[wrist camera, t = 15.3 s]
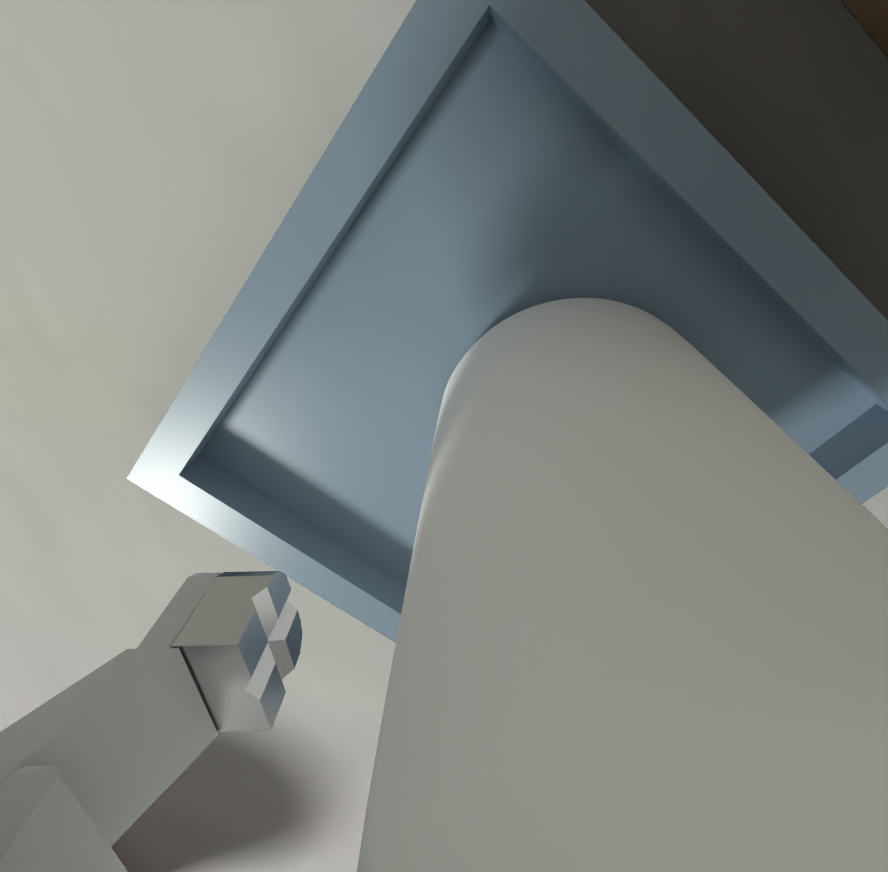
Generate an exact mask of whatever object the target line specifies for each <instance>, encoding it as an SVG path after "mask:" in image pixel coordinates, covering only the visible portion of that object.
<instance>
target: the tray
mask: <svg viewBox="0 0 888 872" xmlns="http://www.w3.org/2000/svg"><path fill="white" fill-rule="evenodd" d="M569 298H599V299H607V300H613V301H617V302H621V303H625V304H628V305H631V306H634V307H636V308H639V309H641V310H643V311H646V312H648V313H649V314H651V315H653V316H655V317H656V318H658V319H660V320H661V321H663V322H664V323H666V324H667V325H668V326H670V327H671V328H672V329H674V330H675V331H676V332H677V333H678V334H679V335H681V336H682V337H683V338H684V339H685V340H686V341H687V342H689V343H690V344H691V345H692V346H693V347H694V348H695V349H696V350H697V351H699V352H700V353H701V354H702V355H703V356H704V357H705V358H706V359H707V360H708V361H709V362H710V363H712V364H713V365H714V366H715V367H716V368H717V369H718V370H719V371H720V372H721V373H722V374H723V375H724V376H726V377H727V378H728V379H729V380H730V381H731V382H732V383H733V384H734V385H735V386H736V387H737V388H738V389H740V390H741V391H742V392H743V393H744V394H745V395H746V396H747V397H748V398H749V399H750V400H751V401H752V402H753V403H754V404H756V405H757V406H758V407H759V408H760V409H761V410H762V411H763V412H764V413H765V414H766V415H767V416H768V417H769V418H770V419H772V420H773V421H774V422H775V423H776V424H777V425H778V426H779V427H780V428H781V429H782V430H783V431H784V432H785V433H786V434H788V435H789V436H790V437H791V438H792V439H793V440H794V441H795V442H796V443H797V444H798V445H799V446H800V447H801V448H802V449H803V450H805V451H806V452H807V453H808V454H809V455H810V456H811V457H812V458H813V459H814V460H815V461H816V462H817V463H818V464H819V465H820V466H821V467H823V468H824V469H825V470H826V471H827V472H828V473H829V474H830V475H831V476H832V477H833V478H834V479H835V480H836V481H837V482H838V483H840V484H841V485H842V486H843V487H844V488H845V489H846V490H847V491H848V492H849V493H850V494H851V495H852V496H853V497H854V498H855V499H857V500H858V501H859V502H860V503H861V504H862V503H864V502H865V501H867V500H868V499H870V498H871V497H873V496H874V495H876V494H877V493H878V492H880V491H881V490H883V489H884V488H886V487H887V486H888V320H887V319H886V318H885V317H884V316H883V315H882V314H881V313H880V312H879V311H878V310H877V309H876V308H875V307H874V306H873V305H872V303H871V302H870V301H869V300H868V299H867V298H866V297H865V296H864V295H863V294H862V293H861V292H860V291H859V290H858V289H857V288H856V287H855V286H854V284H853V283H852V282H851V281H850V280H849V279H848V278H847V277H846V276H845V275H844V274H843V273H842V272H841V271H840V270H839V269H838V268H837V266H836V265H835V264H834V263H833V262H832V261H831V260H830V259H829V258H828V257H827V256H826V255H825V254H824V253H823V252H822V251H821V250H820V249H819V247H818V246H817V245H816V244H815V243H814V242H813V241H812V240H811V239H810V238H809V237H808V236H807V235H806V234H805V233H804V232H803V231H802V230H801V228H800V227H799V226H798V225H797V224H796V223H795V222H794V221H793V220H792V219H791V218H790V217H789V216H788V215H787V214H786V213H785V212H784V211H783V209H782V208H781V207H780V206H779V205H778V204H777V203H776V202H775V201H774V200H773V199H772V198H771V197H770V196H769V195H768V194H767V193H766V191H765V190H764V189H763V188H762V187H761V186H760V185H759V184H758V183H757V182H756V181H755V180H754V179H753V178H752V177H751V176H750V175H749V174H748V172H747V171H746V170H745V169H744V168H743V167H742V166H741V165H740V164H739V163H738V162H737V161H736V160H735V159H734V158H733V157H732V156H731V155H730V153H729V152H728V151H727V150H726V149H725V148H724V147H723V146H722V145H721V144H720V143H719V142H718V141H717V140H716V139H715V138H714V137H713V135H712V134H711V133H710V132H709V131H708V130H707V129H706V128H705V127H704V126H703V125H702V124H701V123H700V122H699V121H698V120H697V119H696V118H695V116H694V115H693V114H692V113H691V112H690V111H689V110H688V109H687V108H686V107H685V106H684V105H683V104H682V103H681V102H680V101H679V100H678V99H677V97H676V96H675V95H674V94H673V93H672V92H671V91H670V90H669V89H668V88H667V87H666V86H665V85H664V84H663V83H662V82H661V81H660V80H659V78H658V77H657V76H656V75H655V74H654V73H653V72H652V71H651V70H650V69H649V68H648V67H647V66H646V65H645V64H644V63H643V62H642V60H641V59H640V58H639V57H638V56H637V55H636V54H635V53H634V52H633V51H632V50H631V49H630V48H629V47H628V46H627V45H626V44H625V43H624V41H623V40H622V39H621V38H620V37H619V36H618V35H617V34H616V33H615V32H614V31H613V30H612V29H611V28H610V27H609V26H608V25H607V24H606V22H605V21H604V20H603V19H602V18H601V17H600V16H599V15H598V14H597V13H596V12H595V11H594V10H593V9H592V8H591V7H590V6H589V4H588V3H587V2H586V1H585V0H416V2H415V4H414V5H413V7H412V8H411V10H410V12H409V13H408V15H407V17H406V18H405V20H404V22H403V23H402V25H401V27H400V28H399V30H398V32H397V33H396V35H395V37H394V38H393V40H392V42H391V43H390V45H389V46H388V48H387V50H386V51H385V53H384V55H383V56H382V58H381V60H380V61H379V63H378V65H377V66H376V68H375V70H374V71H373V73H372V75H371V76H370V78H369V79H368V81H367V83H366V84H365V86H364V88H363V89H362V91H361V93H360V94H359V96H358V98H357V99H356V101H355V103H354V104H353V106H352V108H351V109H350V111H349V113H348V114H347V116H346V117H345V119H344V121H343V122H342V124H341V126H340V127H339V129H338V131H337V132H336V134H335V136H334V137H333V139H332V141H331V142H330V144H329V146H328V147H327V149H326V150H325V152H324V154H323V155H322V157H321V159H320V160H319V162H318V164H317V165H316V167H315V169H314V170H313V172H312V174H311V175H310V177H309V179H308V180H307V182H306V183H305V185H304V187H303V188H302V190H301V192H300V193H299V195H298V197H297V198H296V200H295V202H294V203H293V205H292V207H291V208H290V210H289V212H288V213H287V215H286V217H285V218H284V220H283V221H282V223H281V225H280V226H279V228H278V230H277V231H276V233H275V235H274V236H273V238H272V240H271V241H270V243H269V245H268V246H267V248H266V250H265V251H264V253H263V254H262V256H261V258H260V259H259V261H258V263H257V264H256V266H255V268H254V269H253V271H252V273H251V274H250V276H249V278H248V279H247V281H246V283H245V284H244V286H243V288H242V289H241V291H240V292H239V294H238V296H237V297H236V299H235V301H234V302H233V304H232V306H231V307H230V309H229V311H228V312H227V314H226V316H225V317H224V319H223V321H222V322H221V324H220V325H219V327H218V329H217V330H216V332H215V334H214V335H213V337H212V339H211V340H210V342H209V344H208V345H207V347H206V349H205V350H204V352H203V354H202V355H201V357H200V358H199V360H198V362H197V363H196V365H195V367H194V368H193V370H192V372H191V373H190V375H189V377H188V378H187V380H186V382H185V383H184V385H183V387H182V388H181V390H180V392H179V393H178V395H177V396H176V398H175V400H174V401H173V403H172V405H171V406H170V408H169V410H168V411H167V413H166V415H165V416H164V418H163V420H162V421H161V423H160V425H159V426H158V428H157V429H156V431H155V433H154V434H153V436H152V438H151V439H150V441H149V443H148V444H147V446H146V448H145V449H144V451H143V453H142V454H141V456H140V458H139V459H138V461H137V463H136V464H135V466H134V467H133V469H132V471H131V472H130V474H129V476H128V477H127V479H128V480H130V481H131V482H133V483H135V484H136V485H138V486H140V487H141V488H143V489H145V490H146V491H148V492H149V493H151V494H153V495H154V496H156V497H158V498H159V499H161V500H163V501H164V502H166V503H168V504H169V505H171V506H172V507H174V508H176V509H177V510H179V511H181V512H182V513H184V514H186V515H187V516H189V517H190V518H192V519H194V520H195V521H197V522H199V523H200V524H202V525H204V526H205V527H207V528H208V529H210V530H212V531H213V532H215V533H217V534H218V535H220V536H222V537H223V538H225V539H227V540H228V541H230V542H231V543H233V544H235V545H236V546H238V547H240V548H241V549H243V550H245V551H246V552H248V553H249V554H251V555H253V556H254V557H256V558H258V559H259V560H261V561H263V562H264V563H266V564H268V565H269V566H271V567H272V568H274V569H276V570H277V571H280V572H282V573H284V574H286V576H287V577H289V578H290V579H292V580H294V581H295V582H297V583H299V584H300V585H302V586H304V587H305V588H307V589H309V590H310V591H312V592H313V593H315V594H317V595H318V596H320V597H322V598H323V599H325V600H327V601H328V602H330V603H331V604H333V605H335V606H336V607H338V608H340V609H341V610H343V611H345V612H346V613H348V614H350V615H351V616H353V617H354V618H356V619H358V620H359V621H361V622H363V623H364V624H366V625H368V626H369V627H371V628H372V629H374V630H376V631H377V632H379V633H381V634H382V635H384V636H386V637H387V638H389V639H390V640H392V641H394V642H395V643H396V640H397V634H398V629H399V623H400V618H401V612H402V607H403V601H404V596H405V591H406V585H407V580H408V574H409V569H410V564H411V558H412V553H413V547H414V542H415V537H416V531H417V526H418V520H419V515H420V510H421V505H422V499H423V494H424V489H425V483H426V478H427V473H428V467H429V462H430V457H431V452H432V447H433V442H434V436H435V431H436V426H437V421H438V417H439V412H440V407H441V403H442V399H443V395H444V391H445V389H446V386H447V383H448V381H449V379H450V377H451V375H452V373H453V371H454V370H455V368H456V366H457V365H458V363H459V362H460V361H461V359H462V358H463V357H464V355H465V354H466V353H467V352H468V350H469V349H470V348H471V347H472V346H473V345H474V344H475V343H476V342H477V341H478V340H479V339H480V338H481V337H482V336H483V335H484V334H485V333H487V332H488V331H489V330H490V329H492V328H493V327H494V326H496V325H497V324H499V323H500V322H502V321H503V320H505V319H507V318H508V317H510V316H512V315H514V314H516V313H518V312H520V311H523V310H525V309H527V308H530V307H533V306H536V305H539V304H542V303H546V302H550V301H555V300H561V299H569Z"/></svg>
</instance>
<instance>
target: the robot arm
mask: <svg viewBox="0 0 888 872" xmlns="http://www.w3.org/2000/svg"><path fill="white" fill-rule="evenodd" d="M290 591H291V588H290V585H289V582H288V580H287V577H286V574H284V573H282V572H280V571H259V572H224V573H196V574H194V575H192V576H190V577H188V578H187V579H186V581H185V582H184V583H183V585H182V586H181V588H180V589H179V590H178V592H177V593H176V594H175V596H174V597H173V599H172V600H171V601H170V603H169V604H168V606H167V607H166V608H165V610H164V611H163V613H162V614H161V615H160V617H159V618H158V620H157V621H156V622H155V624H154V625H153V627H152V628H151V629H150V631H149V632H148V634H147V635H146V636H145V638H144V639H143V641H142V642H141V643H140V645H139V646H138V648H137V649H127V650H125V651H124V652H122V653H121V654H119V655H118V656H116V657H115V658H113V659H112V660H110V661H108V662H107V663H105V664H104V665H102V666H101V667H99V668H98V669H96V670H95V671H93V672H92V673H90V674H89V675H87V676H85V677H84V678H82V679H81V680H79V681H78V682H76V683H75V684H73V685H72V686H70V687H69V688H67V689H66V690H64V691H63V692H61V693H59V694H58V695H56V696H55V697H53V698H52V699H50V700H49V701H47V702H46V703H44V704H43V705H41V706H40V707H38V708H36V709H35V710H33V711H32V712H30V713H29V714H27V715H26V716H24V717H23V718H21V719H20V720H18V721H17V722H15V723H14V724H12V725H10V726H9V727H7V728H6V729H4V730H3V731H1V732H0V872H128V871H127V869H126V868H125V867H124V865H123V864H122V862H121V861H120V859H119V858H118V857H117V855H116V854H115V852H114V851H113V849H112V848H111V846H112V845H113V844H114V843H115V842H116V841H117V840H118V839H119V838H120V837H121V836H122V835H123V834H124V833H125V832H126V831H127V830H128V829H129V828H130V827H131V826H132V825H133V824H134V823H135V821H136V820H137V819H138V818H139V817H140V816H141V815H142V814H143V813H144V812H145V811H146V810H147V809H148V808H149V807H150V806H151V805H152V804H153V803H154V802H155V801H156V800H157V799H158V798H159V797H160V796H161V794H162V793H163V792H164V791H165V790H166V789H167V788H168V787H169V786H170V785H171V784H172V783H173V782H174V781H175V780H176V779H177V778H178V777H179V776H180V775H181V774H182V773H183V772H184V771H185V770H186V769H187V768H188V766H189V765H190V764H191V763H192V762H193V761H194V760H195V759H196V758H197V757H198V756H199V755H200V754H201V753H202V752H203V751H204V750H205V749H206V748H207V747H208V746H209V745H210V744H211V743H212V742H213V741H214V739H215V738H216V737H217V736H218V732H233V731H258V730H271V729H272V726H273V724H274V721H275V718H276V716H277V713H278V711H279V708H280V705H281V703H282V700H283V697H284V695H285V689H284V686H283V683H282V679H283V678H284V677H285V676H286V675H287V674H288V673H290V672H291V671H292V670H293V669H294V668H295V665H296V663H297V660H298V657H299V654H300V648H301V640H302V629H301V620H300V617H299V614H298V610H297V609H296V608H294V607H293V606H292V605H291V604H290V603H288V602H287V601H286V600H287V598H288V596H289V593H290Z"/></svg>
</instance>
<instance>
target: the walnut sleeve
mask: <svg viewBox="0 0 888 872" xmlns="http://www.w3.org/2000/svg"><path fill="white" fill-rule="evenodd" d="M842 1H843V2H844V3H845V5H846V6H847V7H848V8H849V10H850V11H851V12H852V13H853V14H854V16H855V17H856V18H857V19H858V21H859V22H860V23H861V24H862V26H863V27H864V28H865V29H866V31H867V32H868V33H869V34H870V36H871V37H872V38H873V39H874V41H875V42H876V43H877V44H878V46H879V47H880V48H881V49H882V51H883V52H884V53H885V54H886V56H887V57H888V0H842Z"/></svg>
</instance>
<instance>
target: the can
mask: <svg viewBox="0 0 888 872" xmlns="http://www.w3.org/2000/svg"><path fill="white" fill-rule="evenodd" d="M357 872H888V529H887V528H886V527H885V526H884V525H883V524H882V523H881V522H880V521H879V520H878V519H877V518H876V517H874V516H873V515H872V514H871V513H870V512H869V511H868V510H867V509H866V508H865V507H864V506H863V505H862V504H861V503H860V502H859V501H858V500H857V499H855V498H854V497H853V496H852V495H851V494H850V493H849V492H848V491H847V490H846V489H845V488H844V487H843V486H842V485H841V484H840V483H838V482H837V481H836V480H835V479H834V478H833V477H832V476H831V475H830V474H829V473H828V472H827V471H826V470H825V469H824V468H823V467H821V466H820V465H819V464H818V463H817V462H816V461H815V460H814V459H813V458H812V457H811V456H810V455H809V454H808V453H807V452H806V451H805V450H803V449H802V448H801V447H800V446H799V445H798V444H797V443H796V442H795V441H794V440H793V439H792V438H791V437H790V436H789V435H788V434H786V433H785V432H784V431H783V430H782V429H781V428H780V427H779V426H778V425H777V424H776V423H775V422H774V421H773V420H772V419H770V418H769V417H768V416H767V415H766V414H765V413H764V412H763V411H762V410H761V409H760V408H759V407H758V406H757V405H756V404H754V403H753V402H752V401H751V400H750V399H749V398H748V397H747V396H746V395H745V394H744V393H743V392H742V391H741V390H740V389H738V388H737V387H736V386H735V385H734V384H733V383H732V382H731V381H730V380H729V379H728V378H727V377H726V376H724V375H723V374H722V373H721V372H720V371H719V370H718V369H717V368H716V367H715V366H714V365H713V364H712V363H710V362H709V361H708V360H707V359H706V358H705V357H704V356H703V355H702V354H701V353H700V352H699V351H697V350H696V349H695V348H694V347H693V346H692V345H691V344H690V343H689V342H687V341H686V340H685V339H684V338H683V337H682V336H681V335H679V334H678V333H677V332H676V331H675V330H674V329H672V328H671V327H670V326H668V325H667V324H666V323H664V322H663V321H661V320H660V319H658V318H656V317H655V316H653V315H651V314H649V313H648V312H646V311H643V310H641V309H639V308H636V307H634V306H631V305H628V304H625V303H621V302H617V301H613V300H607V299H599V298H569V299H561V300H555V301H550V302H546V303H542V304H539V305H536V306H533V307H530V308H527V309H525V310H523V311H520V312H518V313H516V314H514V315H512V316H510V317H508V318H507V319H505V320H503V321H502V322H500V323H499V324H497V325H496V326H494V327H493V328H492V329H490V330H489V331H488V332H487V333H485V334H484V335H483V336H482V337H481V338H480V339H479V340H478V341H477V342H476V343H475V344H474V345H473V346H472V347H471V348H470V349H469V350H468V352H467V353H466V354H465V355H464V357H463V358H462V359H461V361H460V362H459V363H458V365H457V366H456V368H455V370H454V371H453V373H452V375H451V377H450V379H449V381H448V383H447V386H446V389H445V391H444V395H443V399H442V403H441V407H440V412H439V417H438V421H437V426H436V431H435V436H434V442H433V447H432V452H431V457H430V462H429V467H428V473H427V478H426V483H425V489H424V494H423V499H422V505H421V510H420V515H419V520H418V526H417V531H416V537H415V542H414V547H413V553H412V558H411V564H410V569H409V574H408V580H407V585H406V591H405V596H404V601H403V607H402V612H401V618H400V623H399V629H398V634H397V640H396V645H395V651H394V656H393V662H392V667H391V673H390V678H389V684H388V689H387V695H386V700H385V706H384V711H383V717H382V723H381V729H380V734H379V740H378V746H377V751H376V757H375V763H374V768H373V774H372V780H371V785H370V791H369V797H368V803H367V809H366V815H365V822H364V828H363V835H362V841H361V848H360V854H359V861H358V867H357Z"/></svg>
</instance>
